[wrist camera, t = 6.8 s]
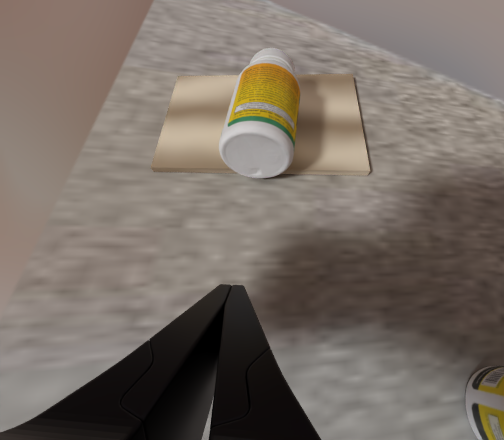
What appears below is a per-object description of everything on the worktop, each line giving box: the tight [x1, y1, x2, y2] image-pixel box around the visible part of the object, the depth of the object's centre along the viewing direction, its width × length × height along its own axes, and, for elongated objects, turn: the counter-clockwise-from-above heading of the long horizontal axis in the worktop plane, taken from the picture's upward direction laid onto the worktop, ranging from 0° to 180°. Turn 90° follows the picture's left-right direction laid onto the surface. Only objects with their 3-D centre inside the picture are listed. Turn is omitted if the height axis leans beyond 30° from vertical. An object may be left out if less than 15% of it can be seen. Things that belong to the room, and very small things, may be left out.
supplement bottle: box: [219, 48, 300, 178], centre depth 19 cm, size 5×5×10 cm
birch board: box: [151, 74, 370, 175], centre depth 23 cm, size 12×18×1 cm, turn 87°
